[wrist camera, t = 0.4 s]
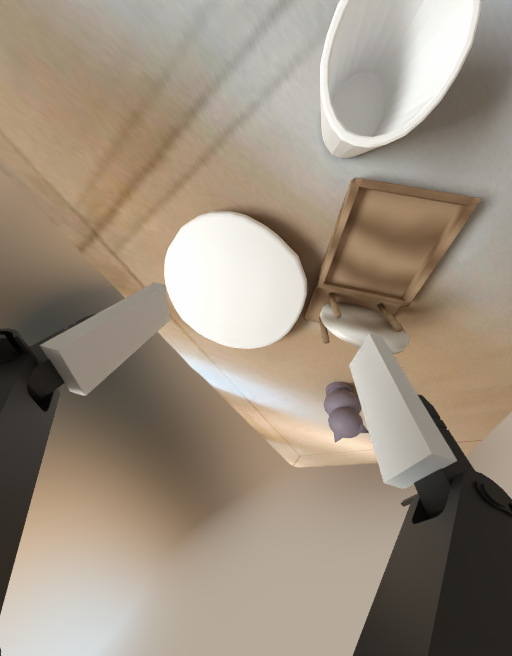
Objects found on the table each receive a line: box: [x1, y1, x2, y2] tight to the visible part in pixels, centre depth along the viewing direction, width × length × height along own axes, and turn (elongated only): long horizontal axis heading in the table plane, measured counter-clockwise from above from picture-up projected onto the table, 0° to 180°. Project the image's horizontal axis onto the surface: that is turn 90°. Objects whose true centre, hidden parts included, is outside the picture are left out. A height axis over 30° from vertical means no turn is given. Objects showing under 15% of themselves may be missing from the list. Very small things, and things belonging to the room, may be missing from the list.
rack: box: [304, 178, 481, 354], centre depth 27 cm, size 23×15×14 cm
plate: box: [164, 211, 307, 349], centre depth 37 cm, size 28×6×27 cm
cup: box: [320, 0, 482, 158], centre depth 19 cm, size 10×10×13 cm
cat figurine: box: [324, 382, 369, 442], centre depth 44 cm, size 8×8×12 cm
